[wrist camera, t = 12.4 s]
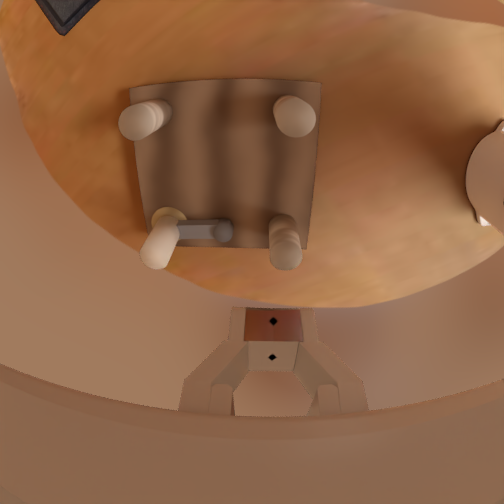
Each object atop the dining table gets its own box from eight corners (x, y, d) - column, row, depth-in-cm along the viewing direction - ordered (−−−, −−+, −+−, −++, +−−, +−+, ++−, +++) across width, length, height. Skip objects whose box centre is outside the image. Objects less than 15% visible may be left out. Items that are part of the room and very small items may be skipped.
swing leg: (233, 213, 37) (227, 243, 32) (234, 237, 39) (229, 270, 34) (154, 215, 38) (136, 243, 32) (159, 238, 40) (143, 269, 34)
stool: (316, 82, 30) (336, 85, 22) (303, 238, 43) (313, 282, 35) (138, 86, 31) (100, 94, 23) (156, 234, 43) (133, 276, 35)
